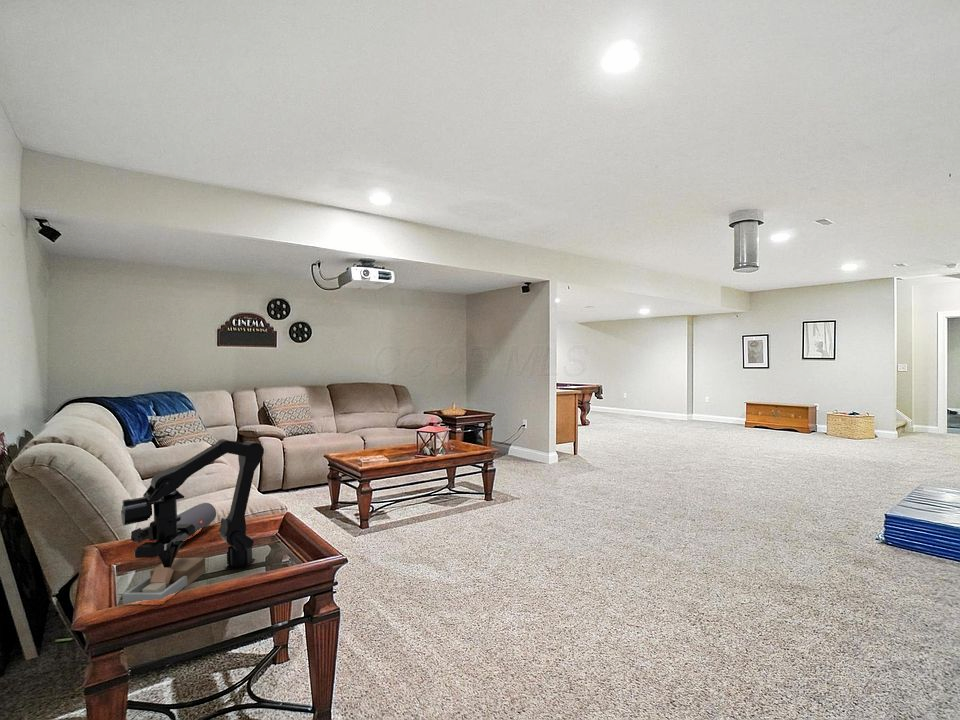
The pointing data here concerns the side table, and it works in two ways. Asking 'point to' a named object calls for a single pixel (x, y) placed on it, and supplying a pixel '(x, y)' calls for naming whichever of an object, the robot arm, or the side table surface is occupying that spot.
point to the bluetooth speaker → (197, 517)
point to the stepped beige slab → (185, 569)
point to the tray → (137, 594)
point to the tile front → (154, 588)
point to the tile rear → (162, 575)
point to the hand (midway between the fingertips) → (167, 568)
